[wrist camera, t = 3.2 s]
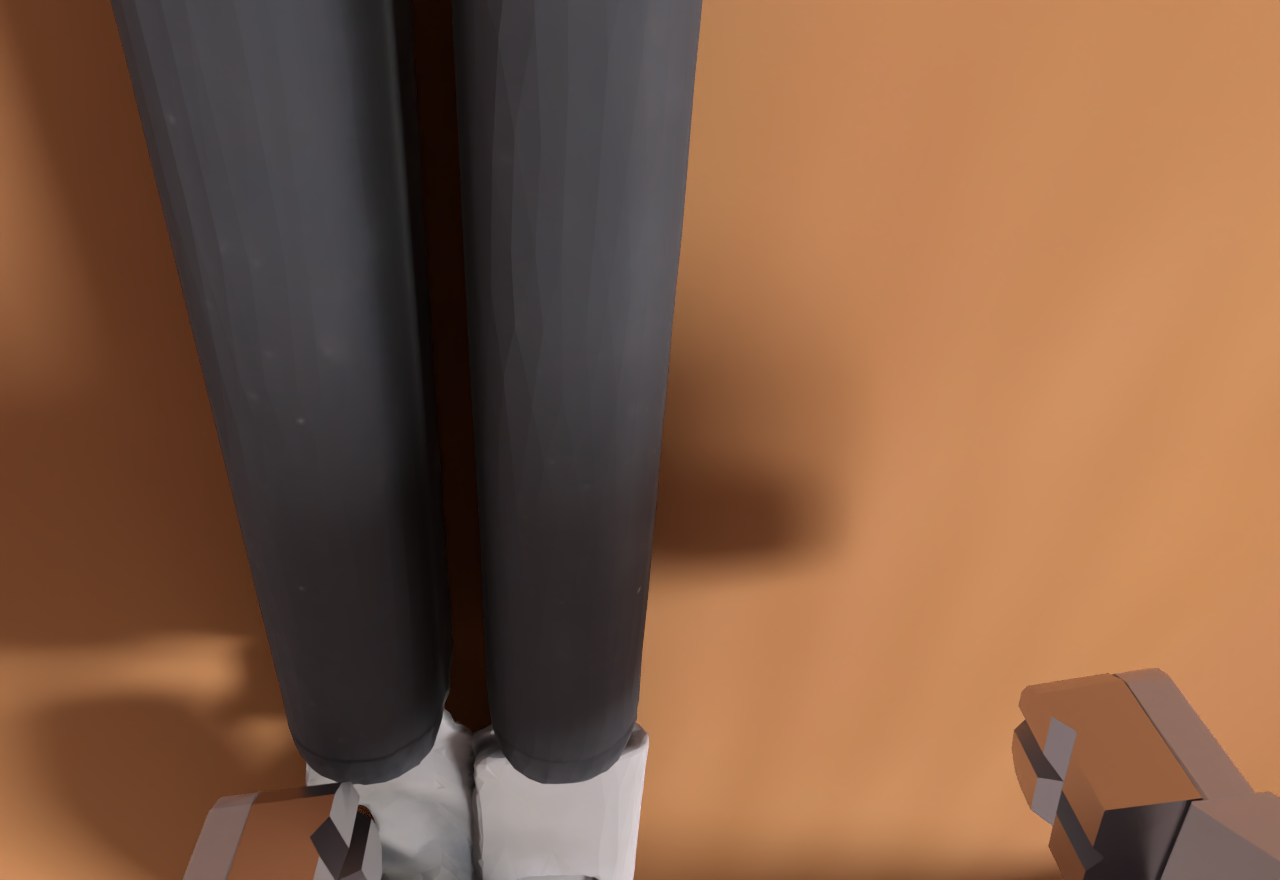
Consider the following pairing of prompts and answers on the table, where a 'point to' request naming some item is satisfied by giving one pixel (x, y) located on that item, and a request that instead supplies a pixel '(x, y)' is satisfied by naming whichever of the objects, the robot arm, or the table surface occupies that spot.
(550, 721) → the can opener
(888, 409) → the table surface
